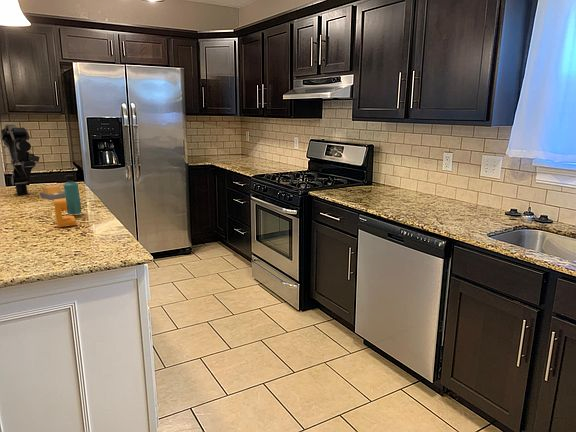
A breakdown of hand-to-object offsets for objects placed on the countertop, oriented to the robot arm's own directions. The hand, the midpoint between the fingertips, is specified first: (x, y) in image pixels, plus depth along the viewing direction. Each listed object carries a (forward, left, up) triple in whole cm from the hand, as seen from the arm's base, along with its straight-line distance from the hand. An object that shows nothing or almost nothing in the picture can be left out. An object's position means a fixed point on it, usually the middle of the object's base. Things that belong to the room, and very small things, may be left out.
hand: (25, 177), depth 243 cm
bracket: (+75, -13, -12) cm, 77 cm away
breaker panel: (+8, +12, -12) cm, 19 cm away
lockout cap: (+8, +10, -9) cm, 16 cm away
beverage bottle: (+62, -3, -12) cm, 63 cm away
